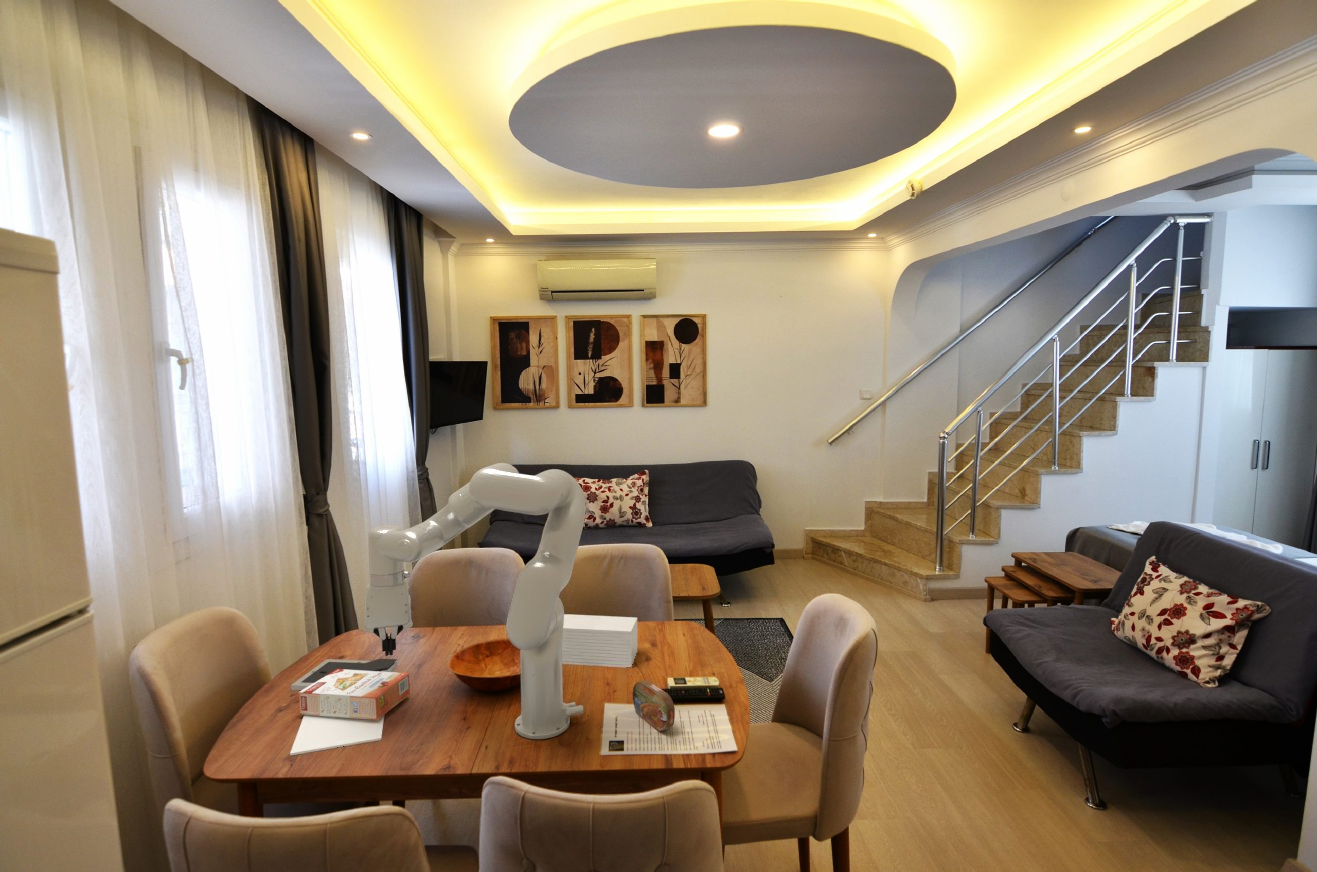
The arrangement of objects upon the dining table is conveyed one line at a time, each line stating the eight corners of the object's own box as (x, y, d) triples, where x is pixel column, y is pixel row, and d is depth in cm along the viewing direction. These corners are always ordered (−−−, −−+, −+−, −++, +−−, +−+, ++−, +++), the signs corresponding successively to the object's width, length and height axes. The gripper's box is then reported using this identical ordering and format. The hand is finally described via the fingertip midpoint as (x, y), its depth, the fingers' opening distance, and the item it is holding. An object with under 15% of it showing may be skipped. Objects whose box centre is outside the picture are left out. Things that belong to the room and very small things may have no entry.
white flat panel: (386, 695, 165) (386, 693, 165) (381, 740, 144) (381, 737, 144) (307, 707, 159) (307, 705, 159) (290, 755, 138) (289, 753, 138)
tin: (631, 709, 158) (631, 676, 157) (642, 706, 160) (642, 673, 159) (665, 738, 145) (665, 702, 145) (677, 734, 147) (677, 698, 146)
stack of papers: (521, 662, 185) (520, 625, 184) (533, 647, 196) (532, 612, 195) (631, 668, 181) (631, 631, 180) (637, 652, 192) (637, 617, 191)
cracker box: (377, 695, 150) (296, 691, 154) (378, 720, 150) (298, 716, 154) (410, 670, 164) (335, 667, 167) (411, 694, 164) (337, 690, 168)
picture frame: (397, 668, 182) (326, 666, 184) (396, 659, 182) (326, 656, 183) (367, 695, 166) (291, 692, 168) (367, 685, 166) (290, 682, 168)
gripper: (420, 570, 159) (422, 643, 160) (353, 576, 154) (356, 651, 155) (420, 579, 152) (422, 655, 153) (350, 586, 147) (353, 664, 148)
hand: (389, 653), depth 154 cm, fingers closed
